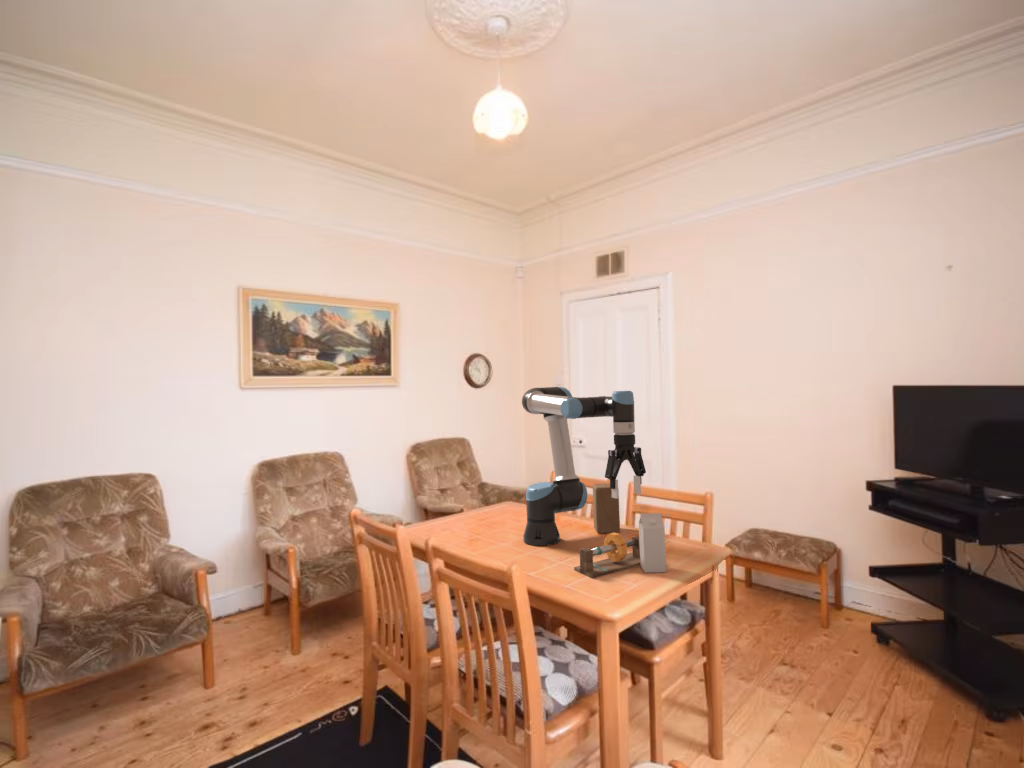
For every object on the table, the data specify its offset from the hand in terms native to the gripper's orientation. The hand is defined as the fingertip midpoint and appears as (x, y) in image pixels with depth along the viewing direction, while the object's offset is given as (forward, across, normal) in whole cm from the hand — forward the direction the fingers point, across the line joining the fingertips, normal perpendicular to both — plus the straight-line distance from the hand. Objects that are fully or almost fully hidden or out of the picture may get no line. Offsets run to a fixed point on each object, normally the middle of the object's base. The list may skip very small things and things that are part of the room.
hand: (626, 495), depth 183 cm
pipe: (+18, -7, 0) cm, 20 cm away
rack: (+24, -7, 0) cm, 25 cm away
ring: (+22, -6, 0) cm, 23 cm away
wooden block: (+24, +21, +36) cm, 48 cm away
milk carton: (+24, +2, -10) cm, 26 cm away
